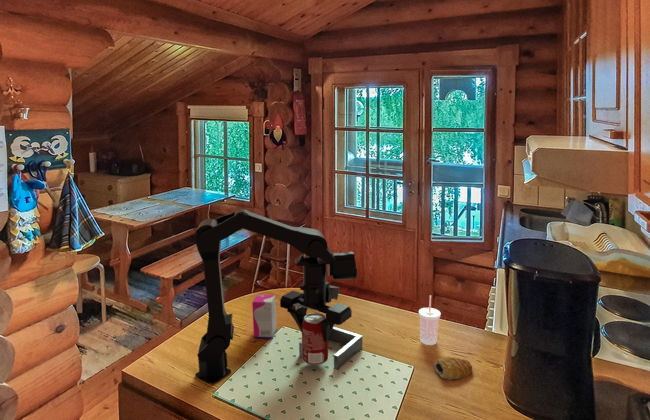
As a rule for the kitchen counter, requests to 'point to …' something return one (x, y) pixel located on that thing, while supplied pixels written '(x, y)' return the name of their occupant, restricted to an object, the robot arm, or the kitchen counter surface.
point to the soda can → (313, 340)
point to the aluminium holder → (349, 350)
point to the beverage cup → (429, 324)
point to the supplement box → (264, 316)
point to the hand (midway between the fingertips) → (315, 337)
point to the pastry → (452, 368)
